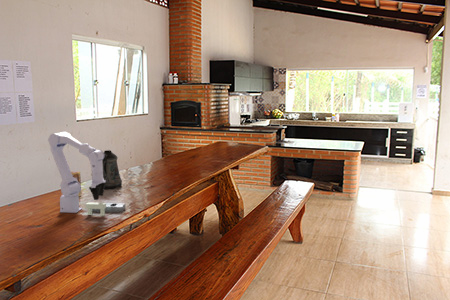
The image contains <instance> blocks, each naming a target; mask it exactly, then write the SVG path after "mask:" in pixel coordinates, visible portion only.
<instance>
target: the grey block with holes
mask: <svg viewBox="0 0 450 300" xmlns="http://www.w3.org/2000/svg"><path fill="white" fill-rule="evenodd" d="M105 203H106V208H105V213H123V211H124V210H126V203H121V202H120V203H119V202H105ZM94 212H95V213H97V212H98V213H99V212H100V209H92V213H94ZM100 213H101V212H100Z"/></svg>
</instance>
